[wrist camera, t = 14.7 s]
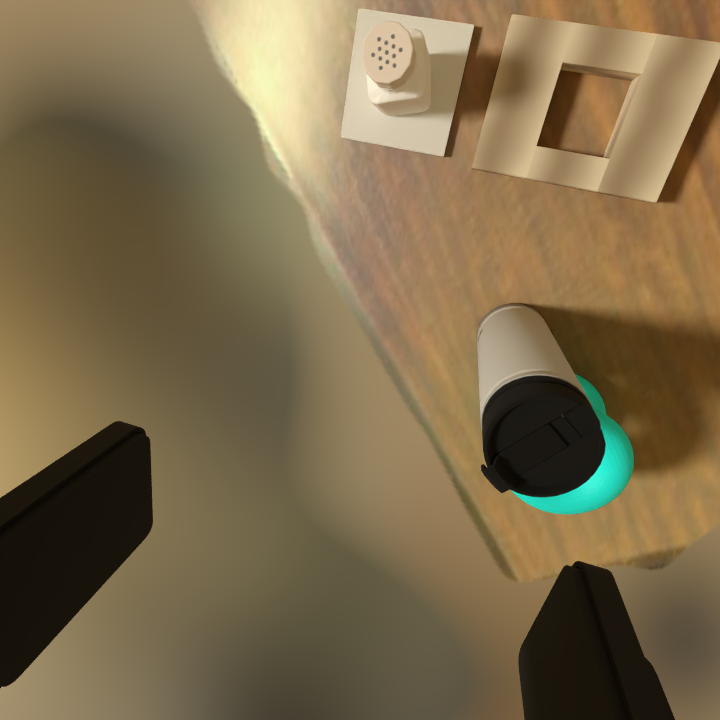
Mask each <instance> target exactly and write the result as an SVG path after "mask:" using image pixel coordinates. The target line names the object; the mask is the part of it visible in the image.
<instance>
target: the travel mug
mask: <svg viewBox="0 0 720 720" xmlns="http://www.w3.org/2000/svg"><path fill="white" fill-rule="evenodd" d="M477 343H478V367H479V390H480V413H481V427H482V436H483V452H484V458H485V461H486V464H487V467H488V468H486V466H485V465H484V464H483V465H481V471H482V472H483V474H484V476H485V477H486V478H487V479H488V480H489V482H490V483H491V484H492V485H493V486H494V487H495V488H496V489H497V490H498V491H500V492H501V493H503V492H505V491H507V490H509V489H510V490H512V491H514V492H516V493H519V494H521V495H526V496H531V497H544V498H545V497H553V496H558V495H562V494H565V493H568V492H570V491H572V490H574V489H577V488H578V487H580V486H581V485H583V484H584V483H585V482H587V481H588V480H589V479H590V478H591V477H592V476H593V475H594V474H595V472H596V471H597V469H598V468H599V466H600V465H601V462H602V460H603V457H604V454H605V447H606V443H605V439H604V436H603V432H602V429H601V426H600V421H599V419H598V417H597V415H596V413H595V412H594V410H593V407H592V404H591V402H590V400H589V399H588V397H587V395H586V393H585V391H584V390H583V388H582V386H581V384H580V383H579V381H578V379H577V377H576V375H575V374H574V372H573V370H572V368H571V367H570V365H569V363H568V361H567V360H566V358H565V356H564V354H563V352H562V351H561V349H560V347H559V345H558V344H557V342H556V340H555V338H554V336H553V335H552V333H551V331H550V329H549V328H548V326H547V324H546V322H545V321H544V319H543V317H542V316H541V315H540V314H539V313H538V312H537V311H536V310H534V309H533V308H531V307H529V306H526V305H523V304H518V303H512V304H505V305H502V306H499V307H497V308H495V309H493V310H492V311H490V312H489V313H488V314H487V315H486V316H485V317H484V318H483V320H482V321H481V323H480V325H479V328H478V332H477Z"/></svg>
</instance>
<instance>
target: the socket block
mask: <svg viewBox="0 0 720 720" xmlns="http://www.w3.org/2000/svg"><path fill="white" fill-rule="evenodd" d="M719 59H720V43H719V42H711V41H704V40H697V39H690V38H682V37H675V36H668V35H660V34H653V33H646V32H638V31H631V30H624V29H617V28H609V27H602V26H595V25H587V24H580V23H573V22H565V21H558V20H551V19H544V18H536V17H529V16H522V15H514V14H512V16H511V20H510V24H509V27H508V31H507V35H506V39H505V43H504V47H503V50H502V54H501V58H500V62H499V66H498V69H497V73H496V77H495V81H494V85H493V89H492V92H491V96H490V100H489V104H488V108H487V112H486V115H485V119H484V123H483V127H482V131H481V134H480V138H479V142H478V146H477V150H476V154H475V157H474V161H473V165H472V169H474V170H480V171H485V172H490V173H496V174H501V175H506V176H511V177H517V178H522V179H527V180H533V181H538V182H543V183H549V184H554V185H559V186H564V187H570V188H575V189H580V190H586V191H591V192H596V193H602V194H607V195H612V196H617V197H623V198H628V199H633V200H639V201H644V202H655V203H656V202H657V200H658V197H659V195H660V193H661V191H662V188H663V186H664V184H665V182H666V179H667V177H668V175H669V172H670V170H671V168H672V166H673V163H674V161H675V159H676V157H677V154H678V152H679V150H680V147H681V145H682V143H683V141H684V138H685V136H686V134H687V132H688V129H689V127H690V125H691V122H692V120H693V118H694V116H695V113H696V111H697V109H698V107H699V104H700V102H701V100H702V97H703V95H704V93H705V91H706V88H707V86H708V84H709V82H710V79H711V77H712V75H713V72H714V70H715V68H716V66H717V63H718V61H719ZM560 70H564V71H571V72H577V73H584V74H590V75H597V76H603V77H610V78H617V79H623V80H630V81H632V82H631V84H630V87H629V90H628V92H627V95H626V98H625V100H624V103H623V106H622V108H621V111H620V114H619V116H618V119H617V122H616V124H615V127H614V130H613V132H612V135H611V138H610V140H609V143H608V146H607V148H606V151H605V154H604V156H603V158H602V157H596V156H590V155H585V154H579V153H574V152H568V151H562V150H557V149H551V148H545V147H540V146H536V145H537V142H538V139H539V136H540V133H541V129H542V126H543V123H544V120H545V117H546V114H547V110H548V107H549V104H550V101H551V98H552V94H553V91H554V88H555V85H556V82H557V78H558V75H559V72H560Z"/></svg>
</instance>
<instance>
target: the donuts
mask: <svg viewBox="0 0 720 720" xmlns="http://www.w3.org/2000/svg"><path fill="white" fill-rule="evenodd" d="M575 375H576V377H577V379H578V381H579V383H580V384H581V386H582V388H583V390H584V391H585V393H586V395H587V397H588V399H589V400H590V402H591V404H592V407H593V410H594V412H595V413H596V415H597V417H598V419H599V421H600V426H601V429H602V432H603V436H604V439H605V443H606V447H605V454H604V457H603V460H602V462H601V465H600V466H599V468H598V469H597V471H596V472H595V474H594V475H593V476H592V477H591V478H590V479H589V480H588V481H587V482H585V483H584V484H583V485H581V486H580V487H578V488H577V489H574V490H572V491H570V492H568V493H565V494H562V495H558V496H553V497H545V498H544V497H531V496H526V495H521V494H519V493H516V492H514V491H513V493H514V494H515V495H517V496H518V497H519V498H520V499H521V500H523V501H524V502H526V503H527V504H529V505H531V506H533V507H535V508H537V509H540V510H543V511H546V512H550V513H556V514H579V513H585V512H589V511H592V510H595V509H598V508H600V507H602V506H604V505H606V504H608V503H609V502H611V501H612V500H614V499H615V498H616V497H617V496H618V495H619V494H620V493H621V492H622V491H623V490H624V488H625V487H626V485H627V484H628V482H629V480H630V478H631V475H632V472H633V468H634V454H633V448H632V445H631V442H630V440H629V438H628V436H627V435H626V433H625V432H624V430H623V429H622V428H621V427H620V425H619V424H618V423H616V422H615V421H614V420H613V419H612V418H610V417H609V416H607V415H606V409H605V404H604V402H603V399H602V397H601V395H600V394H599V392H598V391H597V390H596V388H595V387H594V386H593V385H592V384H591V383H590V382H588V381H587V380H586V379H584V378H582V377H581V376H579V375H577V374H575Z"/></svg>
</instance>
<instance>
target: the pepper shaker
mask: <svg viewBox="0 0 720 720" xmlns="http://www.w3.org/2000/svg"><path fill="white" fill-rule="evenodd" d="M361 59H362V62H363V65H364V69H365V72H366V75H367V86H368V95H369V98H370V100H371V102H372V104H373V105H374V106H375V107H377V108H378V109H379V110H380V111H381V112H382V113H383V114H384V115H387V116H396V115H403V114H410V113H417V112H424V111H426V110H427V109H429V108H430V105H431V65H430V57H429V53H428V49H427V45H426V41H425V38H424V35H423V33H422V31H420V30H418V29H415V28H414V29H405V28H404V27H403V26H402V25H401V24H400V23H399V22H394V21H386V20H385V21H383V22H381V23H379V24H378V25H376V26H374V27H372V28H371V30H370V32H369V33H368V35H367V36H366V38H365V39H364V41H363V47H362V54H361Z"/></svg>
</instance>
